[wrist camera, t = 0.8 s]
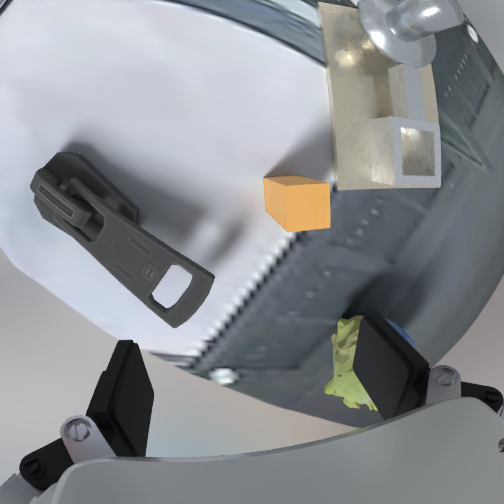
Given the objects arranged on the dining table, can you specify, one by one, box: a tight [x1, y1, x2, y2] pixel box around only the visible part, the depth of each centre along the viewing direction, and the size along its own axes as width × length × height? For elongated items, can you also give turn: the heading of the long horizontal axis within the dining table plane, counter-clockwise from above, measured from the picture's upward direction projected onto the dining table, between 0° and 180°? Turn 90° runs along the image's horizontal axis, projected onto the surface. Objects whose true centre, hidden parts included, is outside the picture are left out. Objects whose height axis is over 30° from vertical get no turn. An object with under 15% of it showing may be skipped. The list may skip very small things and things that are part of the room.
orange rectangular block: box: [263, 175, 330, 232], centre depth 29 cm, size 4×4×10 cm
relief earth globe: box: [324, 315, 415, 410], centre depth 37 cm, size 14×16×15 cm
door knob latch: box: [316, 0, 464, 190], centre depth 23 cm, size 28×18×15 cm, turn 4°
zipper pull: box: [30, 152, 215, 328], centre depth 29 cm, size 9×7×25 cm
